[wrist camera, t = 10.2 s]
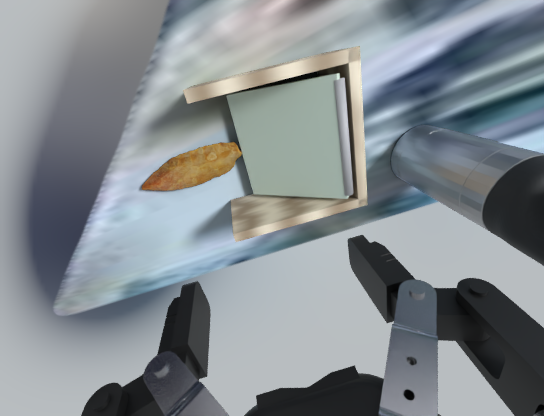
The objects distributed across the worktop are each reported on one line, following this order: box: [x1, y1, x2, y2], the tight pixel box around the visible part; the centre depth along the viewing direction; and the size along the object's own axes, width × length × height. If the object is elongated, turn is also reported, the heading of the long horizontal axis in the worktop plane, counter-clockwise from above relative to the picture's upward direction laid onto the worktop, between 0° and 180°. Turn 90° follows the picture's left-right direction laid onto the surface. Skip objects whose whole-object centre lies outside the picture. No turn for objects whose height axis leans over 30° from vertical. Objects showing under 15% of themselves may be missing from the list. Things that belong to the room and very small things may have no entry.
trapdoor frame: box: [183, 46, 368, 242], centre depth 34 cm, size 17×18×10 cm
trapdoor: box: [226, 73, 353, 199], centre depth 33 cm, size 15×14×1 cm
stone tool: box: [142, 142, 242, 191], centre depth 37 cm, size 5×2×15 cm
